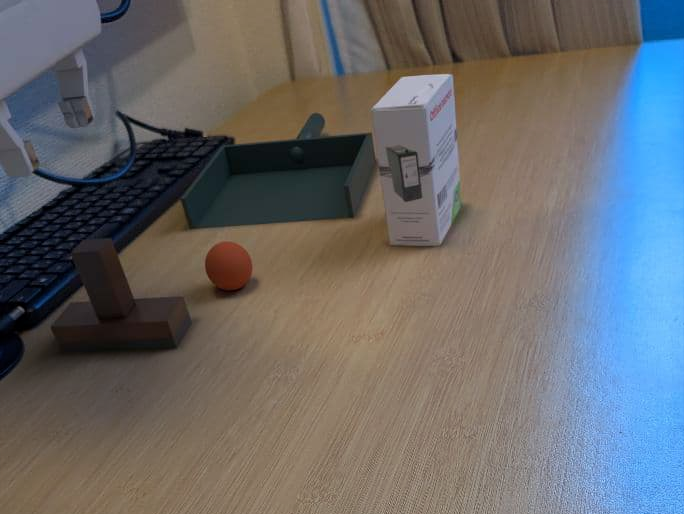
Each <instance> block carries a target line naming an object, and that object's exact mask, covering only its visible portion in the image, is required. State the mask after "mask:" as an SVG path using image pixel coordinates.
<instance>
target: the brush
mask: <svg viewBox="0 0 684 514" xmlns="http://www.w3.org/2000/svg"><path fill="white" fill-rule="evenodd" d="M70 256H71V258H72V261H73V263H74V266H75V268H76V271H77V272H78V275H79V277H80V279H81V282H82V284H83V287H84V289H85V291H86V294H87V296H88V299H89V301H88V300H87V301H72V302H69V303H68V305H67V306H66V307H65V308H64V310H62V312H61V313H60V314H59V315H58V317H57V318H56V319H55V320H54V321H53V323H52V324H51V325H50V327H49V328H50V330H51V332H52V334H53V336H54V338H55V340H56V342H57V344H58V346H59V348H60V351H61V353H62V354H74V353H76V354H77V353H78V354H79V353H100V352H122V351H124V352H125V351H146V350H147V351H148V350H169V349H171V350H173V349H178V347H179V346H180V344H181V343H182V340H183V339H184V337H185V336H186V334H187V332H188V330H189V329H190V327H191V326H192V324H193V321H192V318H191V316H190V312H189V310H188V305H187V303H186V301H185V297H184V295H183V296H181V295H180V296H163V297H162V296H161V297H145V298H143V297H142V298H135V297H134V295H133V292H132V290H131V287H130V284H129V282H128V281H129V280H128V279H127V277H126V274H125V270H124V268H123V265H122V263H121V260H120V258H119V254H118V252H117V250H116V247H115V245H114V241H113V239H112V238H111V237H106V238H91V239H83V240H81V241H80V243H79V244H77V246H76V247H75V248H74V249H73V250H72V251H71V253H70Z"/></svg>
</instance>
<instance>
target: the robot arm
mask: <svg viewBox="0 0 684 514" xmlns="http://www.w3.org/2000/svg"><path fill="white" fill-rule="evenodd" d="M101 33H102V18H101V11H100V8H99V4H98V2H97V0H0V165H1V167H2V169H3V172H4V174H6V175H7V177H9V178H11V179H21V178H28V177H30V176H31V175H32V174H33V173H34V172H35V171H36V170H37V169H39V167H40V160H39V158H38V156H36V152H35V148H34V146H33V143H32V141H31V140H30V139H29V140H22V138H21V137H20V136H19V134H18V133H17V132H16V130H15V129H14V128H13V126H12V125H11V123H9V120H10V119H11V118H12V115H11V112H10V109H9V107H8V105H7V103H6V99H8V98H9V97H10V96H11V95H13V94H14V93H16V92H18V91H19V90H20V89H22V88H23V87H25V86H26V85H28V84H29V83H31V82H33V80H35V79H37V78H38V77H39V76H41V75H43V74H44V73H45V72H47V71H48V70H50V69H51V71H52V72H56V76H57V81H58V87H59V92H60V97H61V100H60V101H58V102H57V105H58V107H59V110H60V113H61V114H62V116H63V120H64V122H65V125H66V126H68V128H70V129H79V128H87V127H88V126H89V125H90V124H91V123H92V122H94V120H95V119H96V112H95V109H94V105H93V103H92V101H91V98H90V95H89V94H90V92H89V91H90V90H89V77H88V76H89V74H88V63H87V59H86V58H85V55H84V51H83V49H82V47H84V46H85V45H86V44H88V43H89V42H91V41H92V40H93V39H95V38H97V37H98V36H99V35H100V34H101Z"/></svg>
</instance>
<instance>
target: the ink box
mask: <svg viewBox="0 0 684 514" xmlns="http://www.w3.org/2000/svg"><path fill="white" fill-rule="evenodd" d="M455 102H456V101H455V89H454V76H453V74H450V73H440V74H439V73H438V74H423V75H411V76H410V75H409V76H408V75H407V76H401V77H400V78H399V79H398V80H397V81H396V82H395V83H394V85H392V87H390V89H389V90H388V91H387V92H386V93H385V94H384V95H383V96H382V97H381V98H380V99H379V100H378V101H377V103H375V104H374V105H373V106H372V107H371V109H370V114H371V119H372V127H373V128H372V129H373V135H374V136H373V137H374V143H375V149H376V159H377V164H378V170H379V176H380V177H379V178H380V184H381V193H382V200H383V206H384V207H383V208H384V213H385V220H386V221H385V222H386V227H387V228H386V229H387V234H388V241H389V246H411V247H413V246H415V247H416V246H417V247H437V246H440V245H441V244H442V242H443V240H444V239H445V238H446V236H447V233H448V232H449V230H450V228H451V227H452V225H453V223H454V221H455V219H456V217H457V215H459V212H460V211H461V209H462V195H461V193H462V192H461V180H460V179H461V178H460V163H459V149H458V135H457V133H458V132H457V118H456V104H455Z"/></svg>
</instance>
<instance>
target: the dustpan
mask: <svg viewBox="0 0 684 514" xmlns="http://www.w3.org/2000/svg"><path fill="white" fill-rule="evenodd" d="M325 126H326V120H325V117H324V115H322V114H321V113H319V112H314V113H313V112H312V114H310V115H309V117H308V119H307V120H306V122H305V123H304V125H303V126H302V127H301V130H300V131H299V133H298V135H297V136H296V138H293V139H292V138H291V139H281V140H270V141H259V142H247V143H237V144H226V145H225V144H224V145H223V144H222V145H221V146H220V147H219V149H217V151H216V152H215V154H214V155H213V156H212V157H211V159H210V160H209V161H208V163H206V165H205V166H204V167H203V169H202V170H201V171H200V173H199V174H198V175H197V176H196V178H195V179H194V180H193V182H192V183H191V185H189V187H188V188H187V189H186V191H185V192H184V193H183V194H182V196H181V197H180V203H181V205H182V208H183V211H184V215H185V218H186V222H187V225H188V229H189V230H195V229H196V230H197V229H208V228H209V229H210V228H224V227H235V226H236V227H238V226H251V225H253V226H254V225H267V224H283V223H294V222H295V223H296V222H309V221H310V222H311V221H325V220H339V219H353V218H355V216H356V214H357V210H358V208H359V206H360V203H361V201H362V198H363V196H364V193H365V191H366V188H367V187H368V183H369V181H370V179H371V176H372V173H373V171H374V168H375V166H376V162H377V158H376V151H375V145H374V138H373V137H374V136H373V132H362V133H361V132H359V133H349V134H338V135H327V136H321V133H322V132H323V130H324V128H325Z"/></svg>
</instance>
